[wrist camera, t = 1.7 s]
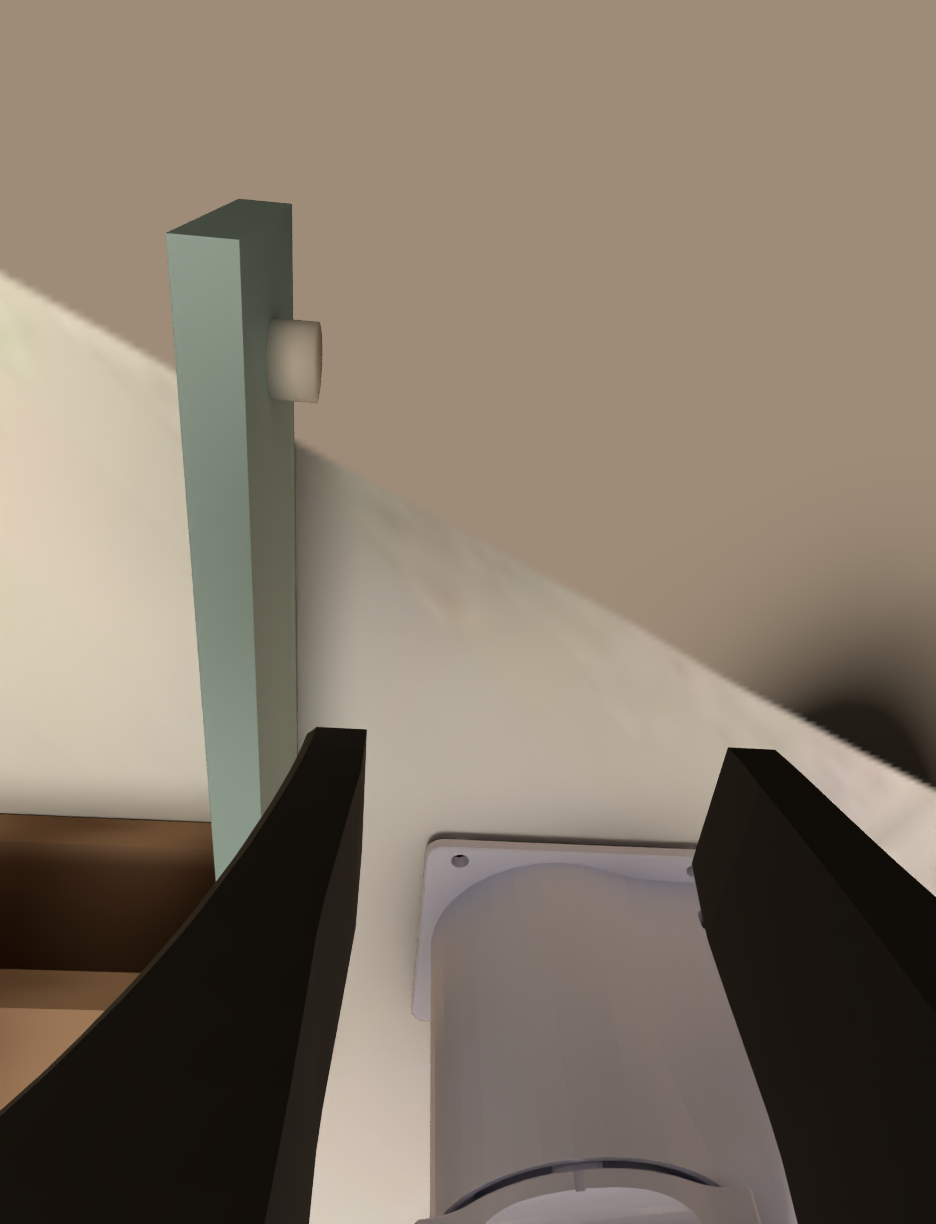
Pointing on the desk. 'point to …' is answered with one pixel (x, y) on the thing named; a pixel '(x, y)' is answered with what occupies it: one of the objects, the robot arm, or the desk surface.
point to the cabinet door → (242, 493)
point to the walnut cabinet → (84, 923)
